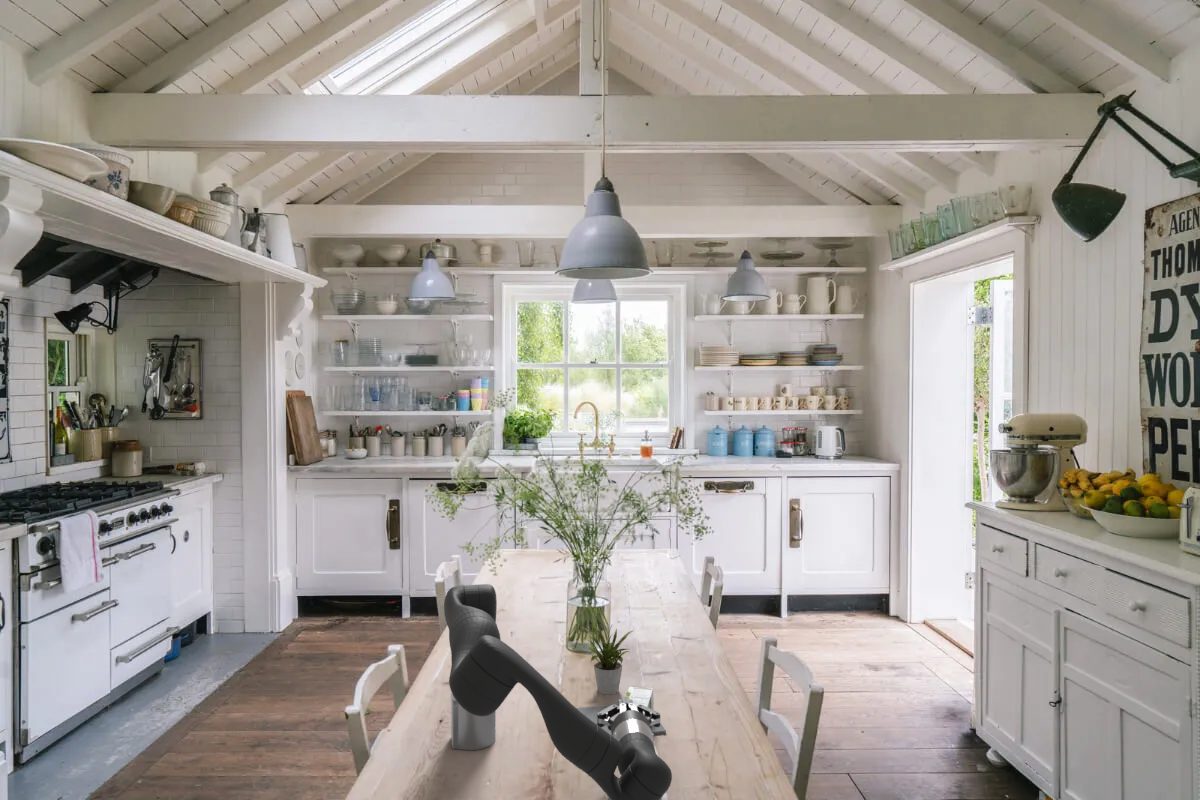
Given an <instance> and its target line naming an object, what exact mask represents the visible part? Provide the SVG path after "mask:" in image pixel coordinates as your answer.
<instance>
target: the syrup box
mask: <svg viewBox="0 0 1200 800" xmlns="http://www.w3.org/2000/svg"><path fill="white" fill-rule="evenodd" d="M625 697H629V699H632V700H633V704H634V705H635V706H637V705H640V704H641V705H644V706H646V707H648V708H650V709H652V710H654V707H655V705H654V704H655V702H654V699H655V698H654V688H653V687H646V686H629V687H628V689H627V692H626V695H625ZM654 711H655V710H654ZM643 714H644V715H645V712H644V711H643Z"/></svg>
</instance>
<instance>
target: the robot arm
mask: <svg viewBox="0 0 1200 800" xmlns="http://www.w3.org/2000/svg"><path fill="white" fill-rule="evenodd" d="M444 598H445V599H444V604H443V611H444V612H443V613H444V618H445V622H446V625H447V627H448V637H449V638H448V639H449V647H450V654H451V656H450V657H451V668H450V673H449V677H448V679H449V680H448V684H449V688H450V691H451V694H450V726H451V727H450V730H451V731H450V736H451V737H450V738H451V748H452V749H454V750H455V749H458V750H459V749H460V750H464V751H465V750H466V751H477V750H481V749H485V748H487V747H491V746H492V745H493V744H494V743H495V742H496V734H497V733H496V732H497V728H496V726H497V725H496V713H497V710H498V709H499V708H500V706H501V705H502V704H503V703H504V702H505V700H506V699H507V697H508V696H509V694H510V693H511V692H512V691H513V690H514V688H515V686H516V685H517V684H521V686H522V687H524V688H525V689H526V691H527V692H528V693H529V694H530V695H531V697H532V698H533V699H534V701H535V702H536V705H537V707H538V709H539V711H540V713H541V716H542V719H543V722H544V724H545V727H546V729H547V732H548V735H549V738H550V740H551V741H552V744H553V745H554V747H555V748H556V750H557V751H558V752H559V754H561V756H563V758H564V759H566V760H567V761H569V763H571V764H572V765H574V766H575V767H576V768H578V769H579V770H581V771H582V772H583V773H585V774H586V775H587V776H589V777H590V778H591V779H592V780H593V782H595V783H596V784H597V785H598V786H599V787H600V788H601V790H602V791H603V792H604V793H605V794H606V796H607V797H608V798H609V799H610V800H661V799H662V798H663V796H664V795H665V793H667V792H668V790H669V788H670V786H671V784H672V780H673V774H672V770H671V768H670V766H669V765H668V763H666V762H665V761H664V760H663V759H662V758H661V757H660V756H659V755H657V752H656V748H655V736H654V735H653V733H652V731H651V728H652V725H653V726H655V727H660V723H661V713H660V712H659V711H657V710H652V709H650V708H648V707H646V706H644V705H641V704H640V705H637V706H635V705H634V704H633V700H632V699H629V697H626V696H622V697H621V698H620V699H618V704H619V706H617V705H615V704H610V705H611V706H609V707H607V708H606V709H604V710H602V711H600V712H599V713H597V724H595V723H594V722H593V721H591V720H590V719H589V718H587V717H586V716H585V715H584V714H582V713H581V712H580V711H579V710H578V709H577V708H578V707H576V706H574V704H573V703H571V702H570V701H569V700H568V699H567V698H566V697H564V695H563V694H562V693H561V692H560V691H559V690H558V689H557V688H556V687H555V686H554V685H553V684H552V683H550V682H549V681H548V679H546V677H544V676H543V675H542V674H541V673H540V672H538V670H536V669H535V668H534V667H533V666H532V665H531V664H530V663H529V662H528V661H527V660H526V659H524V657H523V656H521V655H520V654H519V652H517V651H516V650H514V649H513V648H512V647H511V646H509V644H508V643H505V642H504V641H503V640H501V634H500V631H499V627H498V625H497V604H498V603H497V602H498V601H497V593H496V590H495V588H494V586H493V585H492V584H489V583H486V584H484V583H483V584H467V585H455V586H453V587H451V588H449V589H448V591H447V592H446V595H445V597H444ZM643 711H644V712H645V715H644V714H643ZM605 725H606V726H608V729H609V730H610V731H611V735H610V734H609V733H608V732H606V731H605V730H604V729H602V728H601V727H603V726H605ZM616 769H617V770H618V771H619V774H620V777H618V776H616V774H615V773H616Z"/></svg>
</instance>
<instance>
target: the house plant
mask: <svg viewBox="0 0 1200 800" xmlns="http://www.w3.org/2000/svg"><path fill="white" fill-rule="evenodd" d="M612 627H613V625H611V626H610V627H609V630H608V634H607V641H606V639H605V637H604V635H603V633H602V630H601V628H600V627H598V625H597V626H596V627H595V630H596V632H597V634H598V637H599V639H600V641H601V645H600V643H599V642H598V641H597V639H596V637H595V635H594V633H592V631H591V630H589V629H588V628H586V627H582V626H580V628H581V629H584V630H586V631H588V632H589V634H590V635H591V636H589V638H590V639H592V640H593V641H591V640H589V639H585V638H584V639H583V640H584V641H588V642H590V644H592V646H589V647H588V648H587V651H590V652H589V653H588V654H589V655H591V658H590V662H592V661H594V660H596V661H597V662H595V663H594V664H593V669H594V670H593V671H594V675H595V680H596V688H597V689H596V690H597V692H598V693H600V694H602V693H603V694H602V695H614V694H617V693H619V691H618V690H619V689H620V683H621V677H622V671H623V664H622V663H623V661H624V658H623V657H622V656H623V655H624V654H626V653H630V651H628V650H631V648H620V645H621V644H622V643H623V642H624V641H625V640H626V639H627V637H629V635H631V634H632V632H634V631H635V630H631V631H628V632H626V633H625V634H623V635H624V636H622V637H621V638H620V639H619V640H618V642H616V640H617V637H618V636H617V635H618V629H617V628H616V629H615V631H614V633H612V634H610V631H611V629H612ZM613 634H614V635H613ZM612 636H613V638H612V642H611V637H612ZM593 642H595V643H593ZM615 643H616V644H615ZM595 644H596V645H597V646H598V648H599V650H600V652H599V650H598V648H597V647H596V645H595ZM601 646H602V647H601ZM622 651H623V652H622ZM590 653H593V654H594V655H593V654H590ZM616 692H617V693H616Z"/></svg>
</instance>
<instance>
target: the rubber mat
mask: <svg viewBox="0 0 1200 800" xmlns="http://www.w3.org/2000/svg"><path fill="white" fill-rule="evenodd" d="M611 705H612V704H607V705H606V704H605V705H598V706H597V705H596V706H584V707H583V706H582V707H576V708H577V709H578V710H579V711H580V712H581V713H582V714H584V715H585V716H586V717H587V718H589V719H590V720H591V721H593V722H594V723H595V724H597V713H599V712H600V711H602V710H604V709H606V708H607V707H609V706H611ZM614 705H617V706H619V703H617V704H614ZM601 728H602V729H604V730H605V731H606V732H608V733H609V734H610V735H611V731H610V730H609V729H608V726H606V725H605V726H603V727H601ZM651 731H652V733H653V736H654V735H663V734H664V735H665V734H667V730H666V729H665V727H664V726H663V724H662V723H661V722H660V727H655V726H653V725H652V728H651Z"/></svg>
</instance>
